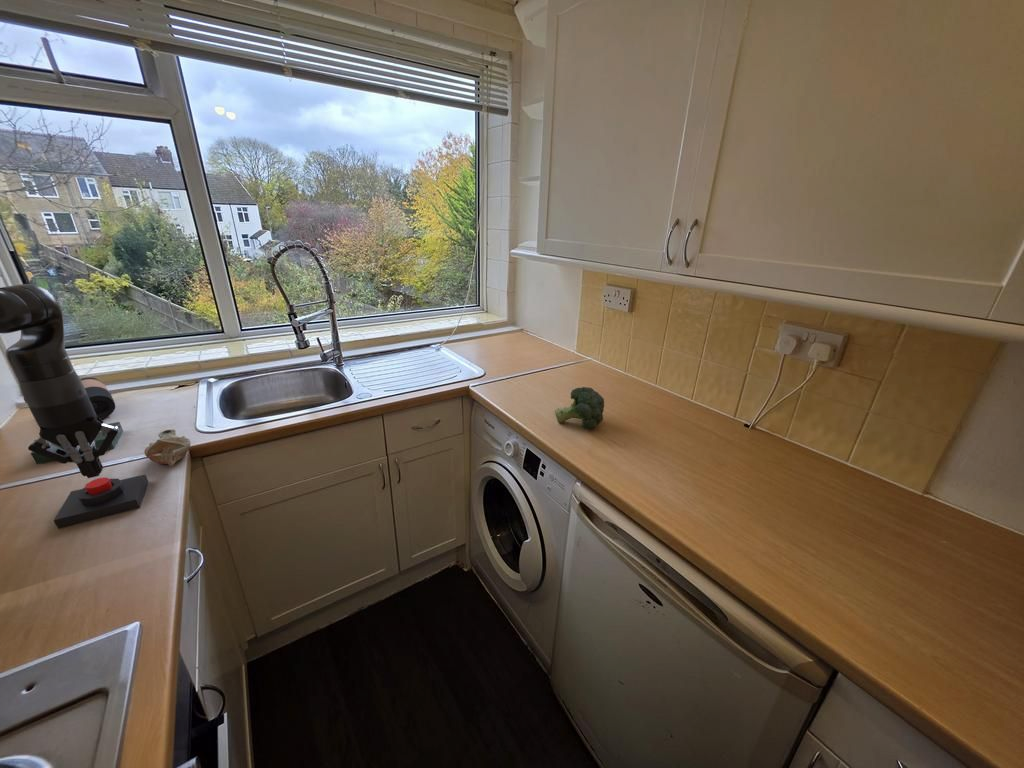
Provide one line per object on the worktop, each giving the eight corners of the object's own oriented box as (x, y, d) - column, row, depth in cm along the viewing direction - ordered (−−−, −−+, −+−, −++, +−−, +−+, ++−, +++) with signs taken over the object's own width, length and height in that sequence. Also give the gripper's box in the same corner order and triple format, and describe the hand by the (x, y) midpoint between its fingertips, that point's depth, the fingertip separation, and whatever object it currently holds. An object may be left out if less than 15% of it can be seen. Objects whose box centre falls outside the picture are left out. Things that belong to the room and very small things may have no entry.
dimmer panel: (36, 464, 96) (30, 452, 95) (51, 444, 104) (46, 434, 103) (114, 448, 103) (109, 437, 102) (123, 431, 111) (119, 421, 110)
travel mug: (80, 422, 114) (72, 402, 125) (118, 417, 119) (107, 398, 131) (76, 396, 112) (68, 378, 124) (115, 392, 117) (104, 375, 129)
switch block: (58, 529, 77) (48, 512, 75) (75, 499, 85) (67, 484, 83) (139, 508, 83) (133, 492, 81) (148, 482, 91) (142, 467, 89)
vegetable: (557, 402, 127) (603, 386, 122) (567, 441, 122) (615, 426, 118) (544, 392, 117) (593, 375, 112) (554, 435, 112) (606, 418, 107)
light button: (85, 497, 80) (82, 490, 79) (91, 487, 83) (87, 480, 82) (110, 491, 82) (106, 484, 81) (114, 482, 85) (111, 475, 84)
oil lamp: (148, 484, 90) (132, 446, 86) (149, 444, 105) (136, 410, 101) (196, 470, 95) (183, 433, 91) (190, 434, 110) (179, 401, 106)
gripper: (110, 383, 80) (141, 456, 87) (14, 397, 74) (55, 475, 81) (100, 396, 75) (133, 474, 81) (-6, 413, 68) (40, 496, 75)
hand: (94, 475), depth 81 cm, fingers closed
